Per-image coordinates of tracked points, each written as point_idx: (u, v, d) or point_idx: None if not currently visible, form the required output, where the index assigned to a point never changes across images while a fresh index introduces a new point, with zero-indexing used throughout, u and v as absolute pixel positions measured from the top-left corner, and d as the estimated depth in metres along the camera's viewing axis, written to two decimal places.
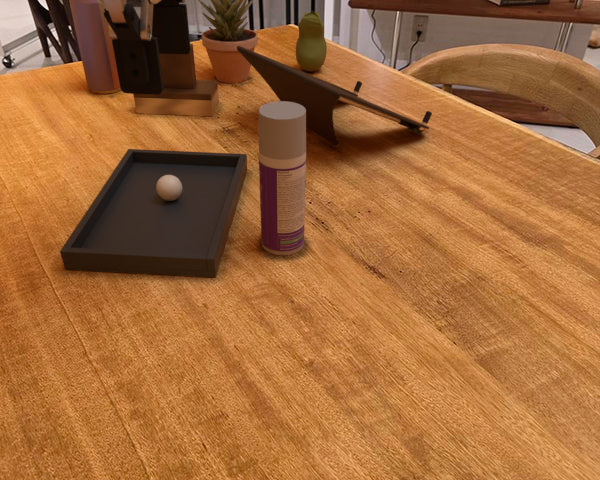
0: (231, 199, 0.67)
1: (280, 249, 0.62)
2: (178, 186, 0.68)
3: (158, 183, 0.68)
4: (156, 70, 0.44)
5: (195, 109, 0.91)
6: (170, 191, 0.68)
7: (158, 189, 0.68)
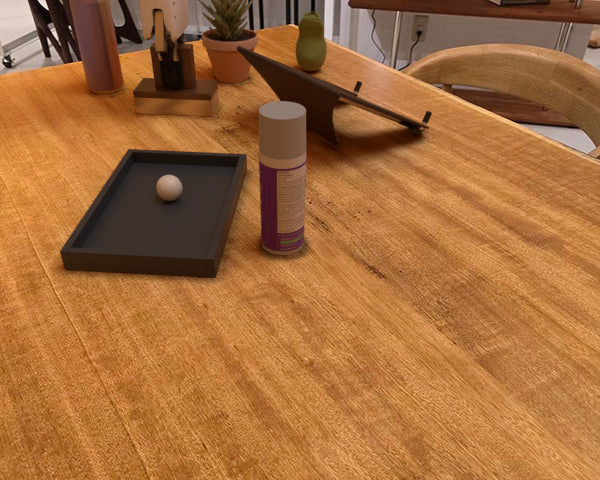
0: (231, 199, 0.67)
1: (280, 249, 0.62)
2: (178, 186, 0.68)
3: (158, 183, 0.68)
4: (180, 75, 0.89)
5: (195, 109, 0.91)
6: (170, 191, 0.68)
7: (158, 189, 0.68)
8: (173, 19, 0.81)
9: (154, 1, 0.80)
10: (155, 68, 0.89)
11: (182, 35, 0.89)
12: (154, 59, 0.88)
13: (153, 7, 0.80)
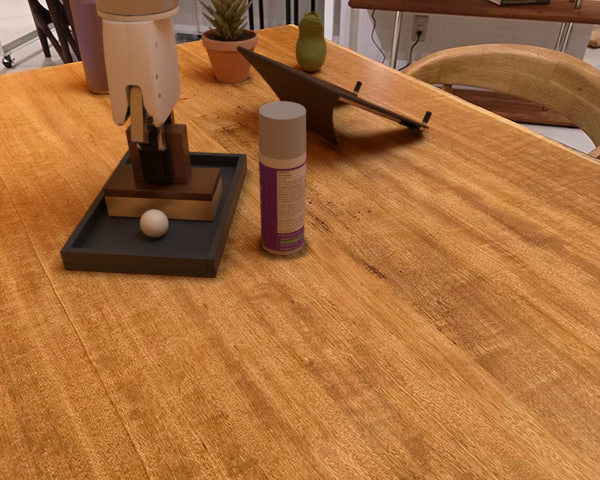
0: (231, 199, 0.67)
1: (280, 249, 0.62)
2: (165, 218, 0.63)
3: (145, 212, 0.63)
4: (168, 168, 0.64)
5: (189, 211, 0.66)
6: (155, 214, 0.62)
7: (143, 215, 0.62)
8: (157, 99, 0.56)
9: (128, 75, 0.54)
10: (134, 157, 0.64)
11: (171, 112, 0.64)
12: (132, 146, 0.63)
13: (127, 83, 0.55)
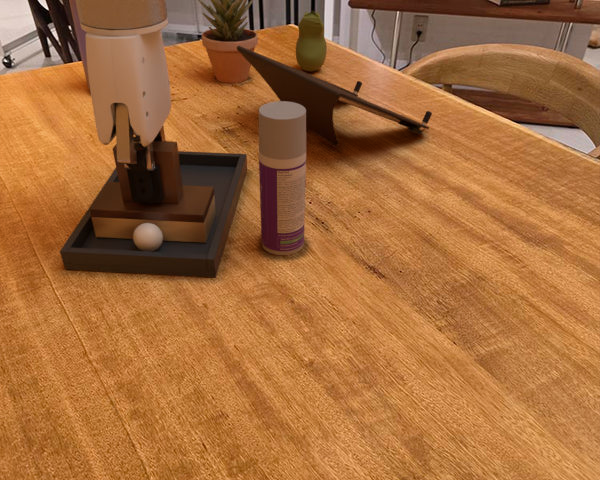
0: (231, 199, 0.67)
1: (280, 249, 0.62)
2: (158, 242, 0.61)
3: (135, 240, 0.60)
4: (158, 188, 0.60)
5: (180, 233, 0.62)
6: (150, 250, 0.61)
7: (136, 245, 0.61)
8: (144, 117, 0.53)
9: (113, 92, 0.51)
10: (122, 176, 0.61)
11: (161, 128, 0.60)
12: (120, 165, 0.60)
13: (112, 101, 0.52)
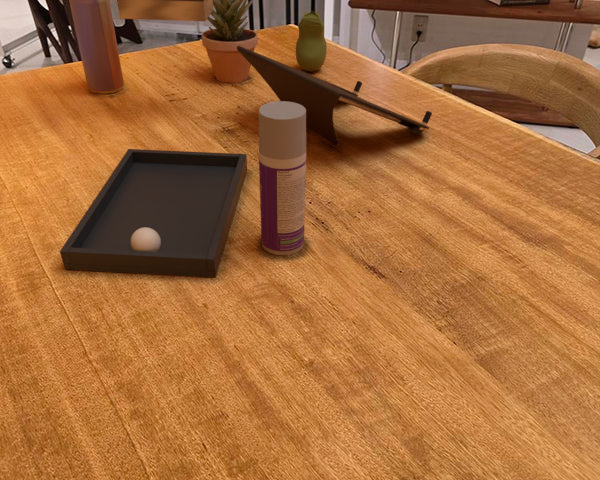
0: (231, 199, 0.67)
1: (280, 249, 0.62)
2: (157, 249, 0.60)
3: (134, 250, 0.60)
4: None
5: (185, 12, 0.81)
6: None
7: None
8: None
9: None
10: None
11: None
12: None
13: None
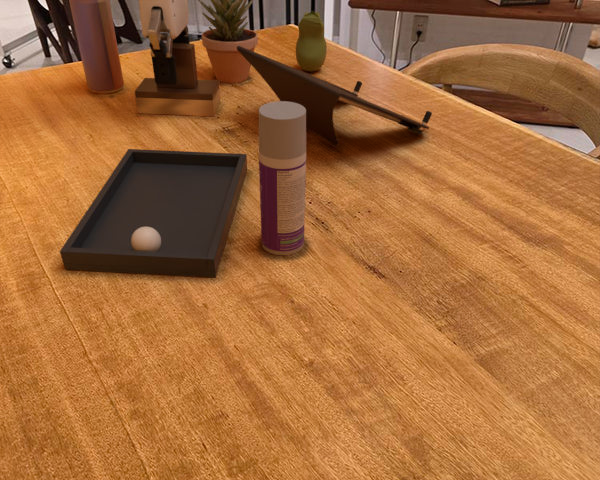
0: (231, 199, 0.67)
1: (280, 249, 0.62)
2: (157, 248, 0.60)
3: (134, 248, 0.60)
4: (174, 72, 0.85)
5: (196, 109, 0.91)
6: None
7: None
8: (172, 17, 0.81)
9: None
10: None
11: None
12: None
13: (152, 5, 0.80)
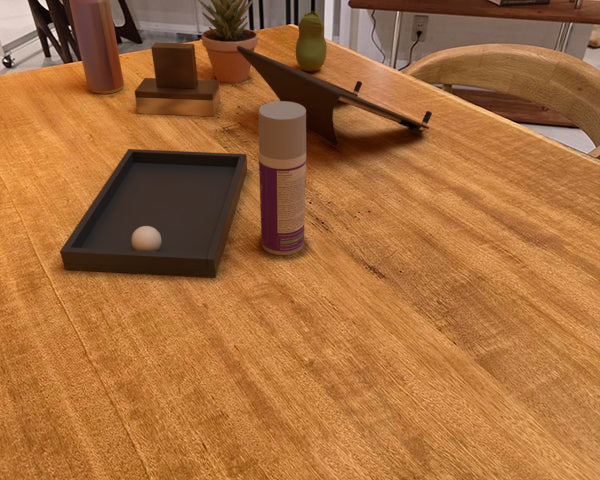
0: (231, 199, 0.67)
1: (280, 249, 0.62)
2: (157, 247, 0.60)
3: (134, 247, 0.60)
4: None
5: (196, 109, 0.91)
6: None
7: (136, 250, 0.61)
8: None
9: None
10: (157, 68, 0.89)
11: None
12: (156, 59, 0.88)
13: None
